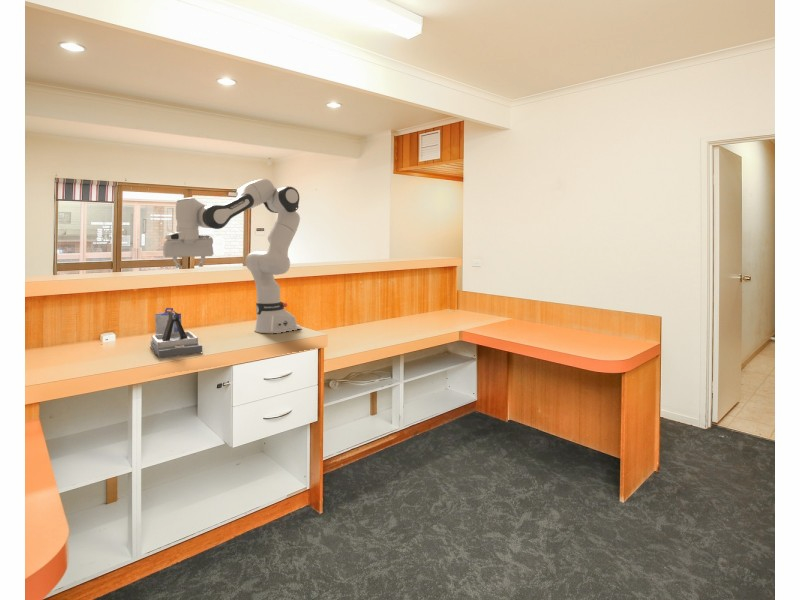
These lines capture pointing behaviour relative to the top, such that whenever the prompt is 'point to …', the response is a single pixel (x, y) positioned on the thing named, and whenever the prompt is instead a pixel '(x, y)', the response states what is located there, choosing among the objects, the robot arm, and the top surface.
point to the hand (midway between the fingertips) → (189, 267)
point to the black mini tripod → (170, 325)
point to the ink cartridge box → (165, 322)
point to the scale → (175, 345)
